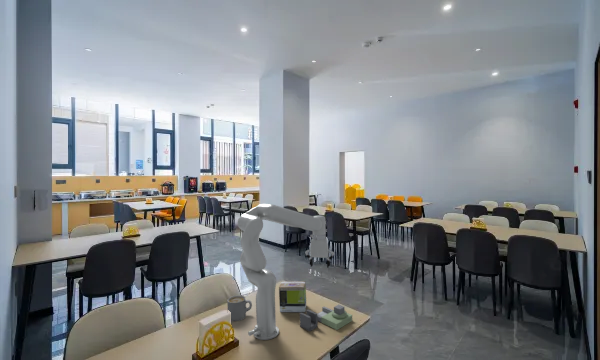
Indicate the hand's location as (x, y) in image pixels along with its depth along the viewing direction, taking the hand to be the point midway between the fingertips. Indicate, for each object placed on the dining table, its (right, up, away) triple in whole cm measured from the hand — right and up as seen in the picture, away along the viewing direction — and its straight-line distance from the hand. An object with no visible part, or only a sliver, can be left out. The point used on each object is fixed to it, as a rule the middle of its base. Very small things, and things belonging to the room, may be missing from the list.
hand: (319, 266), depth 162 cm
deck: (+6, -25, -10) cm, 28 cm away
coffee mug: (-45, -27, -4) cm, 53 cm away
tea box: (-15, -26, +4) cm, 31 cm away
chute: (-7, -26, -17) cm, 32 cm away
